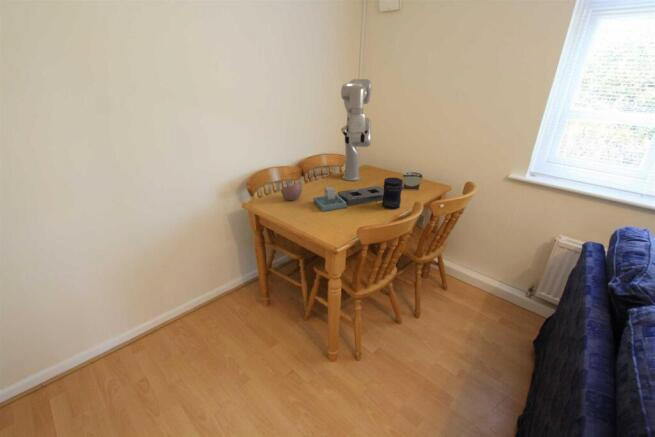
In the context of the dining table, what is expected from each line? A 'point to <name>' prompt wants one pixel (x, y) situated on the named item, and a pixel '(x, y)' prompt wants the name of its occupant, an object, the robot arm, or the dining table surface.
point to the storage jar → (392, 193)
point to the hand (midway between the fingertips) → (354, 142)
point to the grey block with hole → (362, 195)
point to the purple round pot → (291, 191)
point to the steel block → (329, 195)
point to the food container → (412, 180)
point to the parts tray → (323, 207)
